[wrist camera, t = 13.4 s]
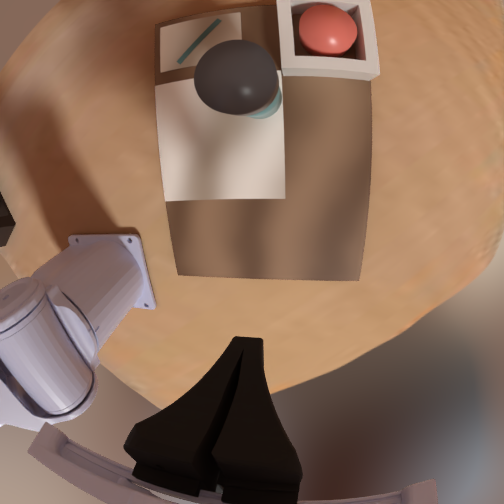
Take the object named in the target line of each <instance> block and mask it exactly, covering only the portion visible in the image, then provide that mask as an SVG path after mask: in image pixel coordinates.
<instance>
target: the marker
mask: <svg viewBox="0 0 504 504" xmlns="http://www.w3.org/2000/svg"><path fill="white" fill-rule="evenodd" d="M194 86H195V89H196V92H197V94H198V96H199V98H200V99H201V100H202V101H203V102H204V103H205V104H206V105H207V106H208V107H210V108H211V109H213V110H215V111H218V112H221V113H225V114H230V115H235V116H247V117H251V118H254V119H264V118H268V117H270V116H272V115H273V114H275V113H276V112H277V111H278V109H279V108H280V106H281V103H282V93H281V90H280V87H279V77H278V73H277V70H276V67H275V63H274V61H273V59H272V57H271V56H270V54H269V53H268V52H267V51H266V50H265V49H264V48H263V47H261V46H259V45H258V44H256V43H254V42H250V41H247V40H228V41H224V42H221V43H219V44H217V45H215V46H213V47H212V48H210V49H209V50H208V51H207V52H206V53H205V54H204V55H203V56H202V57H201V58H200V60H199V62H198V64H197V66H196V69H195V73H194Z"/></svg>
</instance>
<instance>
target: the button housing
mask: <svg viewBox="0 0 504 504" xmlns="http://www.w3.org/2000/svg"><path fill="white" fill-rule="evenodd" d="M276 1H277V12H278V24H279V37H280V52H281V68H282V73H283V76H318V77H336V78H348V79H358V80H366V81H370V80H371V79H373V78H375V77H377V76H378V75H380V69H379V58H378V48H377V40H376V33H375V26H374V20H373V14H372V8H371V3H370V0H276ZM316 5H331V6H335V7H337V8H340V9H342V10H343V11H345V12H346V13H347V14H349V15H350V16H351V18H352V19H353V20H354V22H355V24H356V27H357V37H356V39H355V50H356V59H346V58H335V57H319V56H295V51H294V38H293V26H292V15H291V14H303V13H304V12H305V11H306V10H307V9H309V8H310V7H313V6H316Z"/></svg>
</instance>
